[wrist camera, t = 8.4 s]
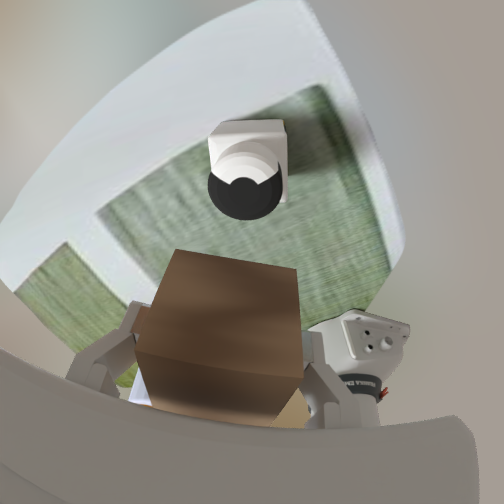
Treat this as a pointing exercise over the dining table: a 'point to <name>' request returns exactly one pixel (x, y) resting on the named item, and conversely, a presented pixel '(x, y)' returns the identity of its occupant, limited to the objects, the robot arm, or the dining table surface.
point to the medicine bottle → (248, 167)
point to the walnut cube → (222, 339)
